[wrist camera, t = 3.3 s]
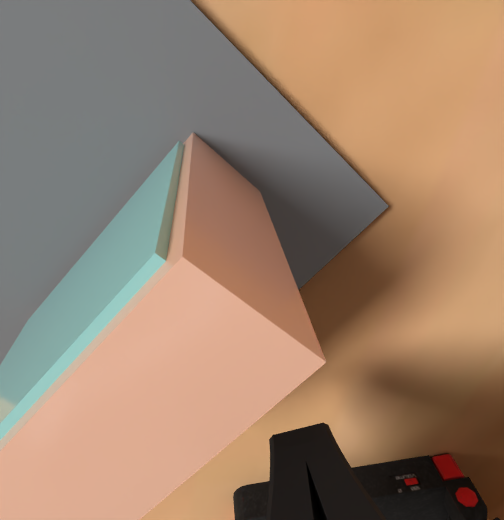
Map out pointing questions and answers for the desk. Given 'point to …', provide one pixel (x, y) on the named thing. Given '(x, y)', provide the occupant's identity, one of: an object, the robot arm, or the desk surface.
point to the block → (152, 349)
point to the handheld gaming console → (396, 491)
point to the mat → (144, 137)
